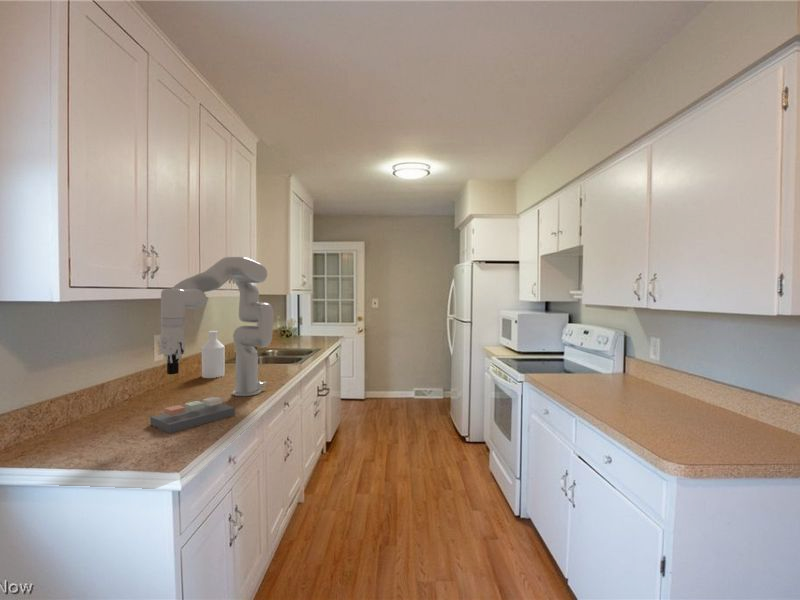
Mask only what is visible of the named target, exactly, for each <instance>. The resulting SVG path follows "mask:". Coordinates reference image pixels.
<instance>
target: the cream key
mask: <svg viewBox="0 0 800 600" xmlns="http://www.w3.org/2000/svg"><path fill="white" fill-rule="evenodd" d="M222 400H223V399H222V398H221V397H218V396H211V397H207V398H205V399H203V398H202V402H203V403H204V405H208V406H213V405H217V404H223V401H222Z"/></svg>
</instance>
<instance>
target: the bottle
mask: <svg viewBox="0 0 800 600" xmlns="http://www.w3.org/2000/svg"><path fill="white" fill-rule="evenodd" d="M208 337H209V339H208V340H207V341H206V343H204V344H203V345H202V346H201V348H200V349H201V350H200V351H201V377H202V378H204V379H217V378H222V377H224V376H225V366H226V365H225V362H226V361H225V360H226V359H225V358H226V356H225V355H226V354H225V353H226V351H225V350H226V348H225V347H226V346H225V345H224V344H223V343H222V342H220V341H219V339H218V330H209V331H208ZM221 376H222V377H221ZM216 377H217V378H216Z"/></svg>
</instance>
